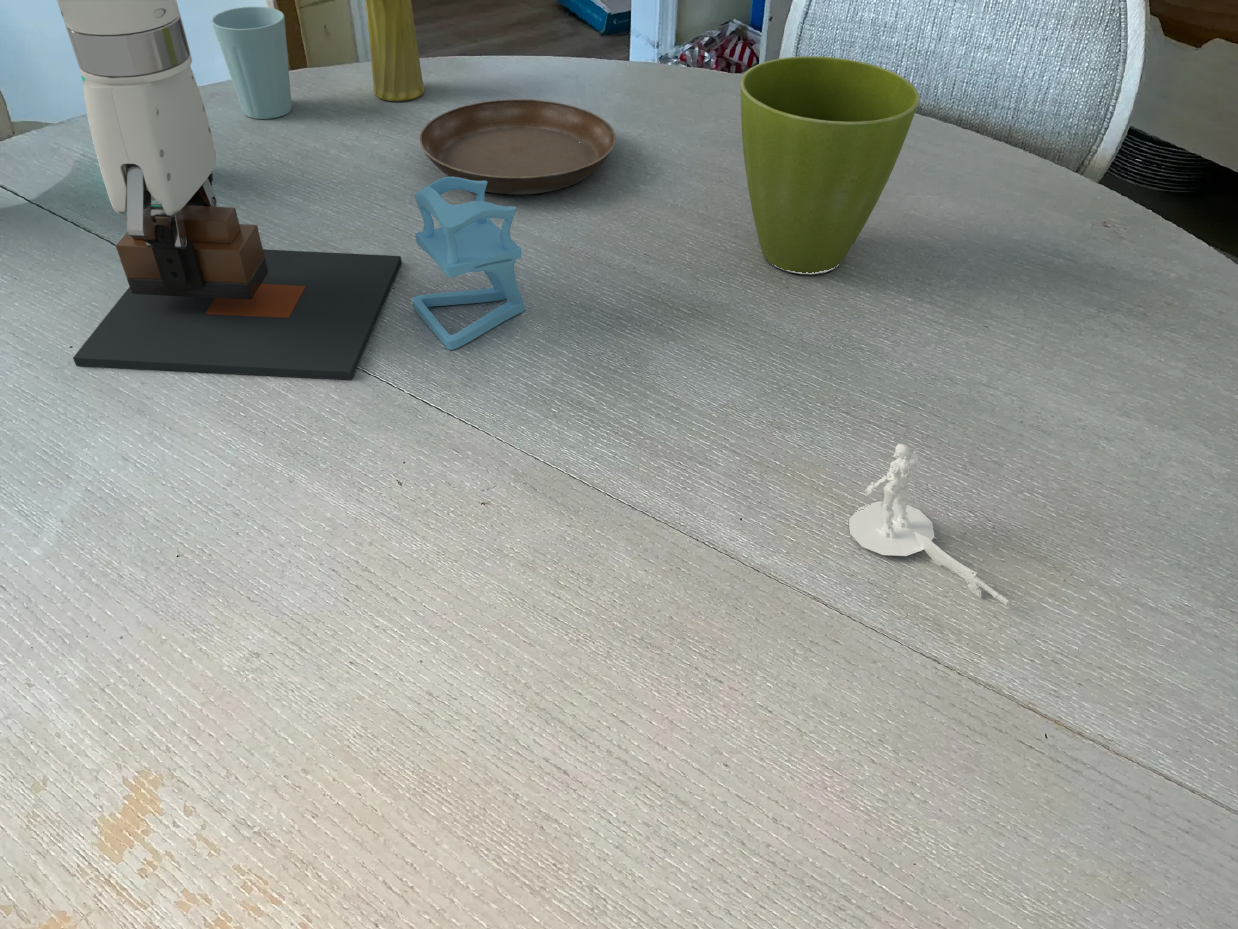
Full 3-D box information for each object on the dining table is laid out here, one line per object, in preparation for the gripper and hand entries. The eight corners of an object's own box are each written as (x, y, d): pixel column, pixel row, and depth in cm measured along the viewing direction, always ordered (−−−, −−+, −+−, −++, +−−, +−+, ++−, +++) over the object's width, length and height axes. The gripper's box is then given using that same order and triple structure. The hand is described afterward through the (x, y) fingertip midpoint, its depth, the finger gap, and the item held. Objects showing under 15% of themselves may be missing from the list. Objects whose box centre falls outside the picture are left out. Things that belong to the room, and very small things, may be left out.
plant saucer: (487, 111, 119) (486, 82, 117) (646, 147, 113) (647, 118, 111) (383, 180, 105) (379, 149, 103) (557, 225, 99) (557, 194, 96)
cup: (220, 109, 118) (197, 15, 111) (278, 92, 122) (260, 1, 115) (254, 129, 114) (234, 33, 107) (313, 110, 118) (297, 18, 111)
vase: (363, 91, 123) (345, -35, 113) (405, 79, 126) (390, -45, 117) (393, 106, 120) (376, -23, 110) (435, 93, 123) (422, -33, 114)
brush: (131, 294, 83) (106, 222, 79) (153, 267, 86) (130, 196, 82) (251, 299, 83) (233, 227, 78) (268, 272, 86) (252, 201, 82)
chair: (538, 323, 86) (534, 192, 78) (448, 351, 82) (434, 217, 74) (497, 282, 91) (489, 154, 83) (411, 306, 87) (394, 176, 79)
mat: (75, 365, 80) (72, 357, 79) (165, 251, 93) (162, 243, 93) (352, 380, 79) (350, 371, 79) (401, 263, 93) (400, 255, 92)
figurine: (885, 502, 71) (896, 408, 67) (1033, 592, 64) (1058, 493, 59) (829, 537, 69) (836, 442, 64) (976, 636, 61) (997, 536, 56)
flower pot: (744, 206, 103) (763, 45, 92) (892, 233, 99) (929, 69, 88) (704, 278, 92) (720, 105, 81) (868, 311, 88) (907, 134, 78)
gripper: (129, 5, 78) (190, 220, 90) (20, 87, 66) (108, 325, 78) (224, 9, 78) (273, 224, 90) (133, 92, 65) (204, 329, 77)
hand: (196, 268), depth 84 cm, fingers closed on brush, 4 cm apart
